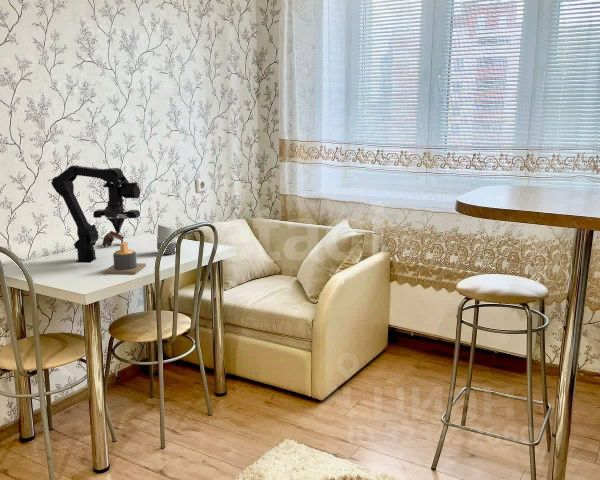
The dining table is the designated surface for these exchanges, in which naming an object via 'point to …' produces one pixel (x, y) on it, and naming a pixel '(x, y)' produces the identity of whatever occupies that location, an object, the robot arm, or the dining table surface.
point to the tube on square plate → (125, 265)
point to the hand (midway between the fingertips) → (118, 233)
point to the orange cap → (124, 249)
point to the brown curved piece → (111, 238)
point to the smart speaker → (162, 236)
